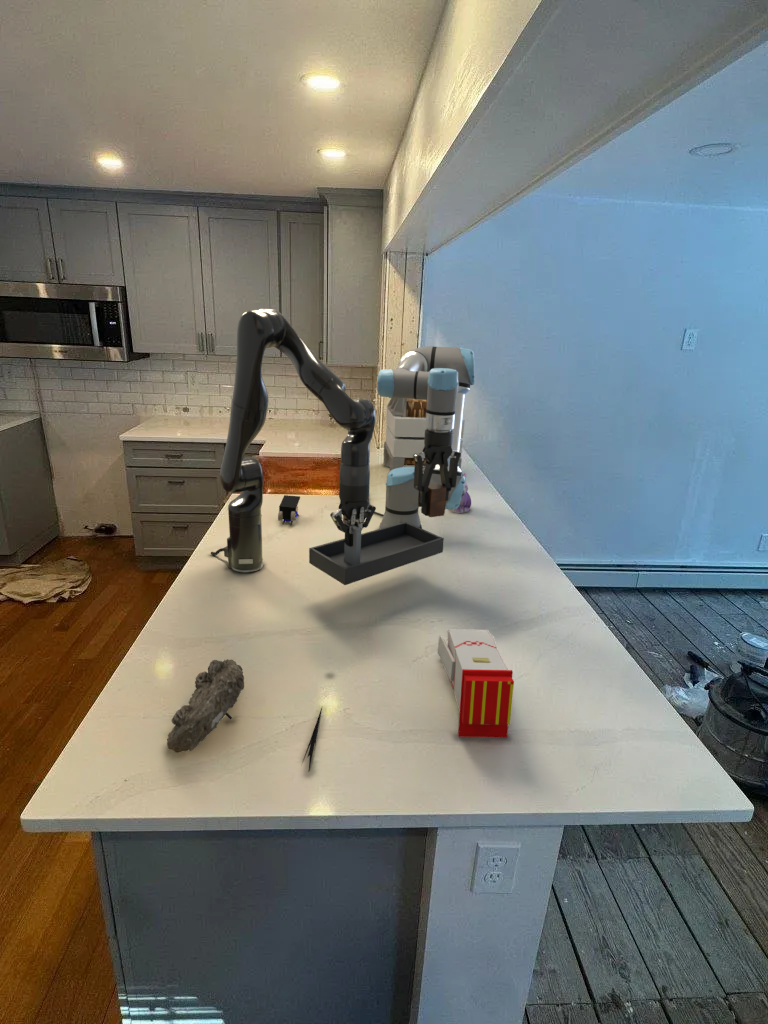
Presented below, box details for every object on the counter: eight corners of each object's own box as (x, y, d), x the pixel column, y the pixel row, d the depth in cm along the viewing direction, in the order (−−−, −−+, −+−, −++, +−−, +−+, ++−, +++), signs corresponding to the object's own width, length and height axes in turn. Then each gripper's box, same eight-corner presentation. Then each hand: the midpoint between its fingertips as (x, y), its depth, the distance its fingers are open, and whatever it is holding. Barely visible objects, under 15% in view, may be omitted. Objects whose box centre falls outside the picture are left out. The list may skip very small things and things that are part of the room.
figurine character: (296, 530, 202) (301, 512, 215) (295, 511, 198) (300, 494, 212) (277, 530, 201) (283, 511, 215) (276, 511, 198) (282, 493, 211)
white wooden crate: (382, 463, 289) (386, 382, 275) (445, 464, 293) (451, 384, 279) (390, 482, 257) (394, 392, 243) (460, 483, 261) (468, 394, 247)
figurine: (457, 515, 220) (461, 478, 215) (443, 507, 229) (446, 471, 224) (477, 512, 224) (481, 475, 219) (462, 504, 233) (466, 469, 228)
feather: (331, 679, 122) (336, 673, 122) (307, 777, 96) (313, 769, 95) (324, 675, 122) (329, 669, 121) (298, 772, 95) (304, 764, 95)
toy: (488, 613, 130) (523, 677, 101) (484, 667, 133) (517, 744, 104) (435, 612, 130) (455, 676, 101) (432, 666, 133) (451, 743, 103)
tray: (309, 563, 149) (309, 524, 145) (405, 534, 170) (407, 500, 167) (344, 585, 138) (345, 543, 134) (442, 552, 159) (445, 515, 156)
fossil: (192, 660, 117) (244, 628, 112) (224, 691, 120) (276, 661, 115) (142, 746, 98) (202, 712, 93) (182, 779, 101) (242, 748, 96)
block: (429, 517, 154) (431, 489, 151) (421, 512, 157) (423, 484, 155) (444, 515, 155) (446, 487, 153) (436, 510, 159) (438, 483, 156)
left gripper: (341, 488, 134) (339, 555, 140) (385, 479, 142) (382, 543, 148) (323, 480, 139) (322, 545, 145) (366, 472, 147) (364, 534, 153)
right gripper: (416, 434, 142) (410, 521, 150) (475, 430, 149) (467, 514, 157) (402, 428, 148) (398, 511, 156) (460, 425, 155) (453, 505, 163)
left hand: (352, 544), depth 146 cm, fingers closed on tray, 1 cm apart
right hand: (432, 512), depth 156 cm, fingers closed on block, 4 cm apart
